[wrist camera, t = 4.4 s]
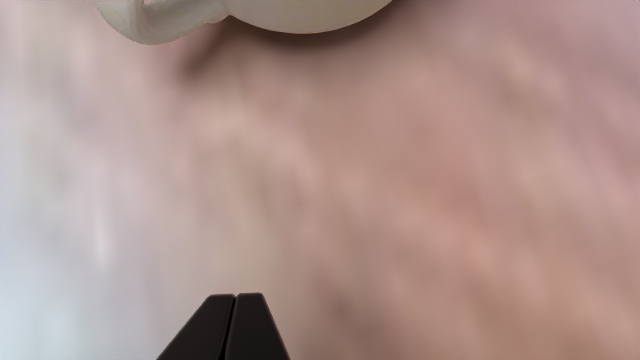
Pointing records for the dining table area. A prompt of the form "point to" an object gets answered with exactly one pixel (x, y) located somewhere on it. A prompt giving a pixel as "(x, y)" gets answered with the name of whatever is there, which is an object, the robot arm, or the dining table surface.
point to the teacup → (217, 3)
